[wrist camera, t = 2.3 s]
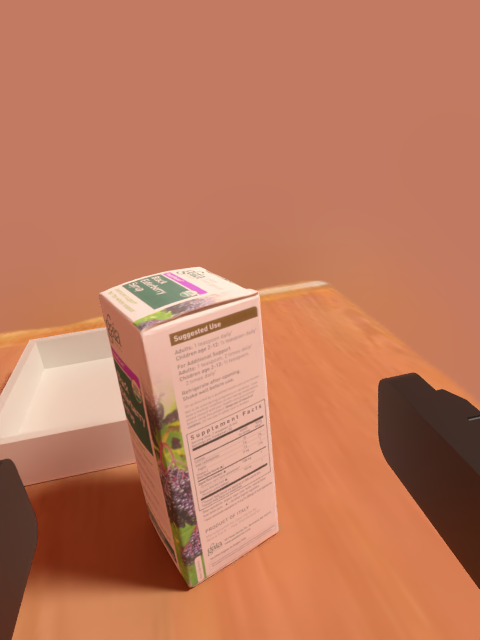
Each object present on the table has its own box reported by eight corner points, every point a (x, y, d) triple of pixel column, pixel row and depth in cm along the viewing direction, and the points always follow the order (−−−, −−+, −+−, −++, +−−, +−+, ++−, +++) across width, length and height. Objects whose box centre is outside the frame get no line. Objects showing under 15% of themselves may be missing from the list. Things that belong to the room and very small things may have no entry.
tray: (-11, 493, 31) (-29, 450, 29) (40, 372, 45) (29, 339, 44) (231, 442, 33) (225, 400, 31) (204, 342, 47) (199, 311, 46)
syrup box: (146, 519, 27) (88, 291, 21) (231, 473, 30) (200, 259, 24) (190, 593, 23) (131, 329, 17) (285, 531, 25) (263, 285, 19)
